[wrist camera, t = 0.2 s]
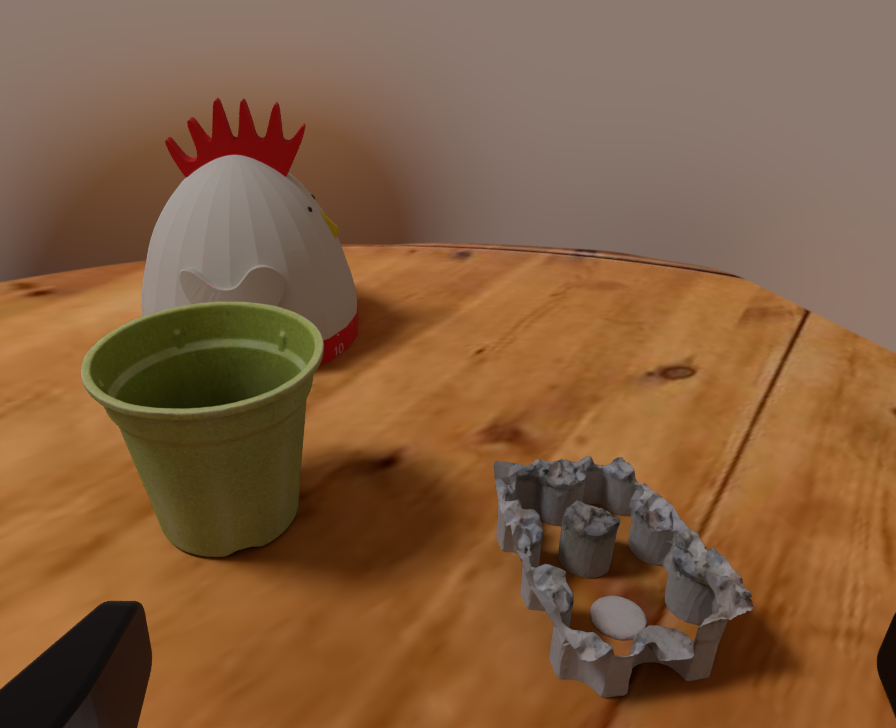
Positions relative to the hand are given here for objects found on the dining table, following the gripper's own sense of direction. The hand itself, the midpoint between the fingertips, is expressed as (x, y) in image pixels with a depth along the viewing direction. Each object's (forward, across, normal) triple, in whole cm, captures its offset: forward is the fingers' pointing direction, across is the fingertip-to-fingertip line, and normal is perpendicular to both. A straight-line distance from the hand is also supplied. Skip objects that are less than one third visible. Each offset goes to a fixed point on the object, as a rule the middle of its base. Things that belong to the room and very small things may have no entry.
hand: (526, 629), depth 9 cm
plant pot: (+22, +9, +16) cm, 29 cm away
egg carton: (+17, -7, +16) cm, 25 cm away
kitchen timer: (+41, +12, +16) cm, 45 cm away
